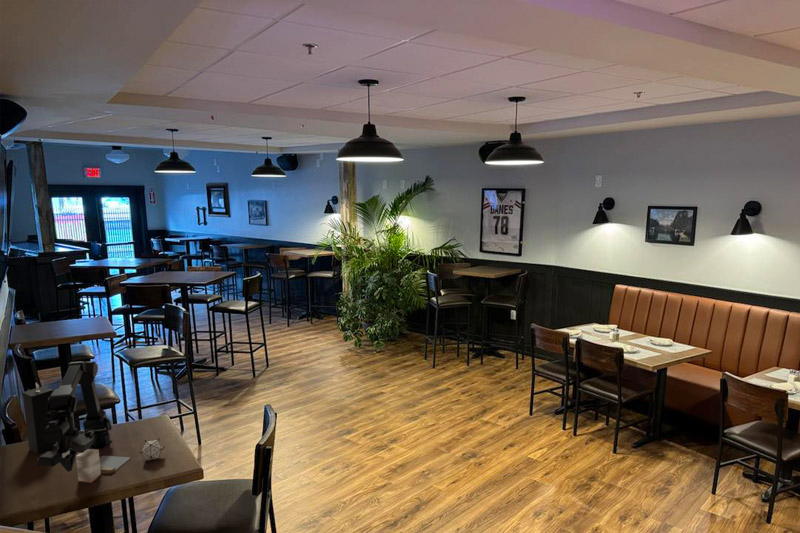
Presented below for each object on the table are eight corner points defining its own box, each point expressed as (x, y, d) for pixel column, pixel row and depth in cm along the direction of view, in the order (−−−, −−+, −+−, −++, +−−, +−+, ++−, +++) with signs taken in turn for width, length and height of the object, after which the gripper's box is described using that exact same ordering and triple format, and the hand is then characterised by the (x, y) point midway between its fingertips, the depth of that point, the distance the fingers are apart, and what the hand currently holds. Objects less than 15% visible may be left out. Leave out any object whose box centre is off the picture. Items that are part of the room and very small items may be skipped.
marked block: (78, 481, 181) (75, 455, 180) (88, 474, 186) (86, 448, 184) (91, 482, 180) (88, 456, 179) (101, 474, 185) (98, 449, 184)
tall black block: (38, 455, 199) (30, 388, 195) (29, 450, 203) (21, 384, 199) (59, 447, 205) (52, 382, 201) (50, 442, 210) (43, 378, 205)
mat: (86, 468, 189) (86, 467, 189) (103, 456, 198) (102, 455, 198) (115, 471, 188) (115, 470, 188) (131, 458, 197) (130, 457, 197)
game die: (155, 470, 195) (151, 459, 188) (136, 460, 196) (132, 449, 189) (171, 450, 201) (167, 438, 195) (153, 441, 203) (149, 429, 196)
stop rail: (82, 471, 187) (81, 468, 187) (86, 468, 189) (85, 465, 189) (111, 474, 186) (111, 470, 186) (115, 471, 188) (114, 467, 188)
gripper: (64, 443, 161) (69, 488, 163) (105, 417, 179) (109, 458, 182) (33, 441, 162) (38, 485, 165) (77, 416, 181) (81, 456, 183)
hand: (69, 470), depth 174 cm, fingers closed
